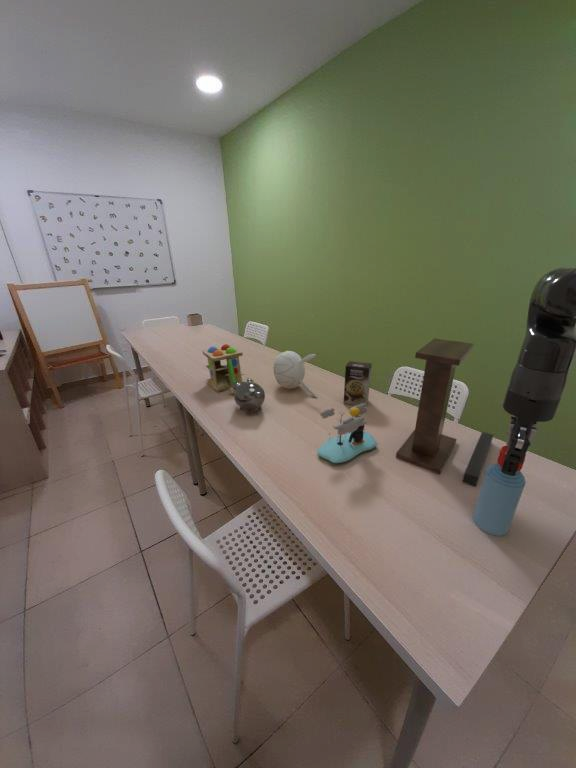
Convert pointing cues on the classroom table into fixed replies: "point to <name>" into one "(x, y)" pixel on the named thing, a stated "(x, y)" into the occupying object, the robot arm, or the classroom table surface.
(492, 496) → the bottle
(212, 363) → the pounding bench toy
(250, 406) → the piggy bank
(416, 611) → the classroom table surface
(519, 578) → the classroom table surface
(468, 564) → the classroom table surface
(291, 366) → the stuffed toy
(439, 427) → the stand
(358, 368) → the coffee box
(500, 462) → the cap
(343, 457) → the penguin figurine
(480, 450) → the dark grey bar
